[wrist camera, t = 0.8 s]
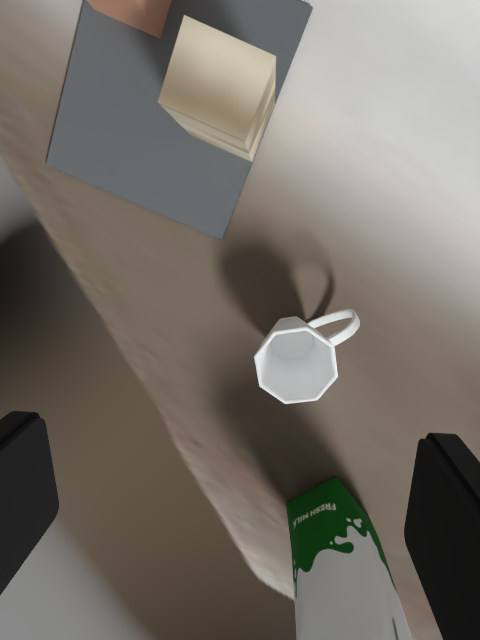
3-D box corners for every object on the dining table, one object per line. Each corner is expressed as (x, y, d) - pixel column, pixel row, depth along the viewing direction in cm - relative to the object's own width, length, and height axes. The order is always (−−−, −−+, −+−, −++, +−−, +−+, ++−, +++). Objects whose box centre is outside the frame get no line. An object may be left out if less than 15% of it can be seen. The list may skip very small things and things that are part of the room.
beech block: (211, 73, 32) (184, 11, 22) (275, 102, 32) (277, 53, 22) (190, 135, 33) (157, 102, 23) (252, 162, 33) (244, 140, 24)
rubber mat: (106, -84, 30) (104, -88, 29) (312, 9, 30) (312, 6, 30) (48, 165, 35) (45, 164, 35) (222, 240, 36) (221, 240, 35)
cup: (243, 324, 38) (236, 352, 30) (330, 274, 36) (346, 290, 28) (279, 379, 39) (280, 419, 32) (364, 333, 37) (389, 363, 29)
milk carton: (317, 551, 45) (352, 800, 26) (274, 500, 43) (276, 724, 24) (381, 519, 43) (469, 764, 24) (337, 464, 41) (395, 679, 22)
